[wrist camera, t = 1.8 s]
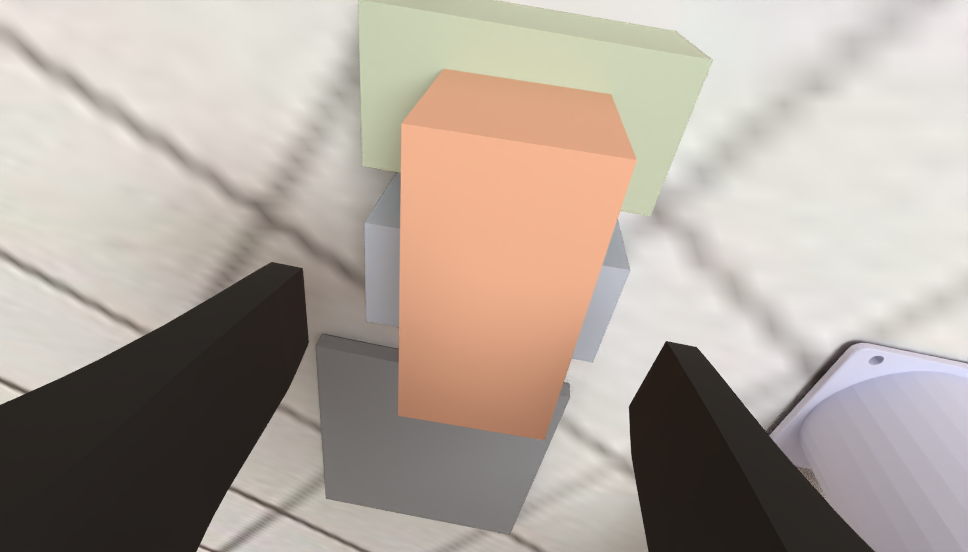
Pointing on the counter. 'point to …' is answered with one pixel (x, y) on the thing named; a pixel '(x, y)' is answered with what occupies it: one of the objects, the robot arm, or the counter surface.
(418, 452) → the slate mat
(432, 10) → the sage brick
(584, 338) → the blue brick
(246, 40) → the counter surface
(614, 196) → the terracotta brick
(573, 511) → the counter surface
